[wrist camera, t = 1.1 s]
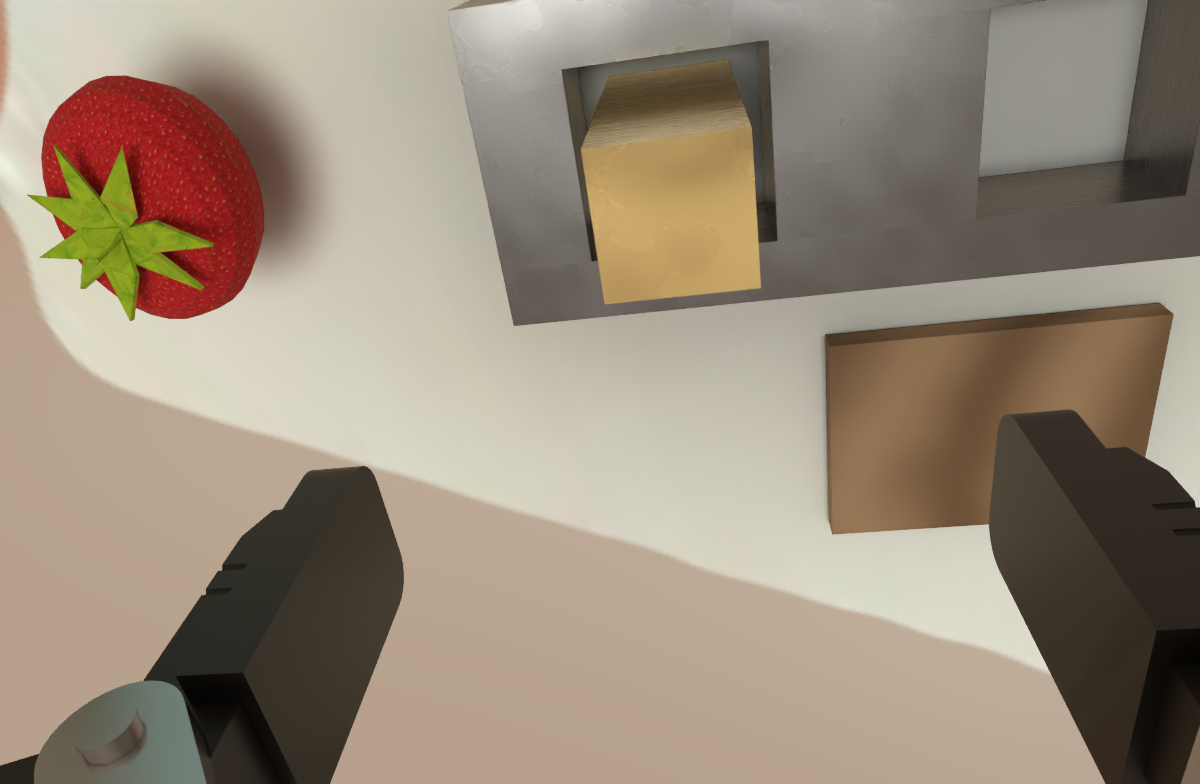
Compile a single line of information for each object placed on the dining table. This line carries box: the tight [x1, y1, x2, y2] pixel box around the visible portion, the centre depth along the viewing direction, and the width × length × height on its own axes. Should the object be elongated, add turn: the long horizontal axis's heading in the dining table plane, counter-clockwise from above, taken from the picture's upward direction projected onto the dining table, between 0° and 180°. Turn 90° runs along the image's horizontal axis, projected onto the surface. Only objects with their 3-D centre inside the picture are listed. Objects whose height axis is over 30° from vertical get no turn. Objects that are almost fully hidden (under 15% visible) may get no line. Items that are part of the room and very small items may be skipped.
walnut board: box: [825, 303, 1173, 534], centre depth 34 cm, size 12×9×1 cm
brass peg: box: [581, 60, 761, 304], centre depth 25 cm, size 4×4×10 cm
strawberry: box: [28, 76, 264, 321], centre depth 27 cm, size 6×8×10 cm
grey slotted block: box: [447, 0, 1200, 326], centre depth 27 cm, size 24×10×4 cm, turn 98°
